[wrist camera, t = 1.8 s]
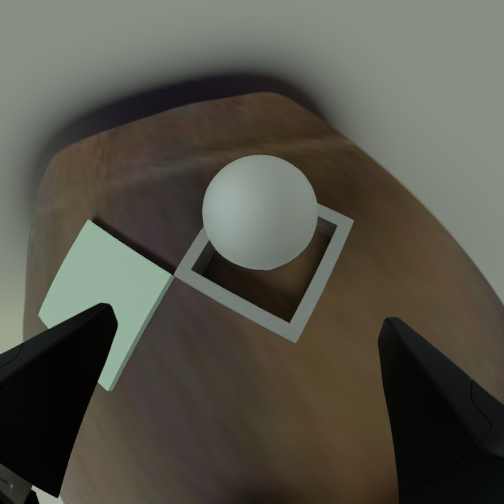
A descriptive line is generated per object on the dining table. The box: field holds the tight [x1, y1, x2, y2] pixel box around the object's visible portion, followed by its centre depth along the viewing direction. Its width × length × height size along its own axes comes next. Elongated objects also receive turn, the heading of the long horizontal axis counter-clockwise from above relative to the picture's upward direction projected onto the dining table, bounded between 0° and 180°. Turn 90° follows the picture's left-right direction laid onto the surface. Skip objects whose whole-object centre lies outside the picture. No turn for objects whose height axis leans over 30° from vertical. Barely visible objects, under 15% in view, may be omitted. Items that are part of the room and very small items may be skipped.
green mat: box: [38, 220, 175, 391], centre depth 22 cm, size 12×12×1 cm
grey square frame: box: [174, 203, 354, 343], centre depth 21 cm, size 10×10×2 cm
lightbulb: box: [202, 155, 318, 270], centre depth 17 cm, size 6×6×11 cm
